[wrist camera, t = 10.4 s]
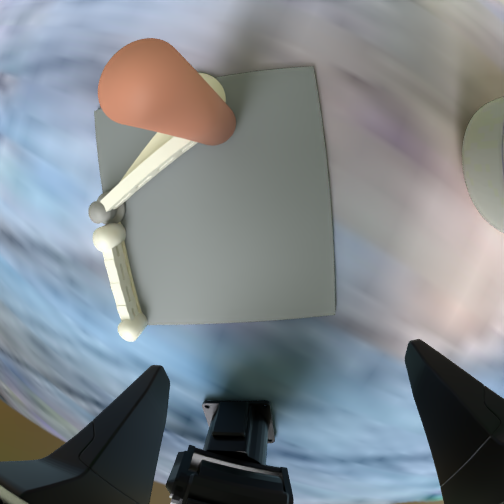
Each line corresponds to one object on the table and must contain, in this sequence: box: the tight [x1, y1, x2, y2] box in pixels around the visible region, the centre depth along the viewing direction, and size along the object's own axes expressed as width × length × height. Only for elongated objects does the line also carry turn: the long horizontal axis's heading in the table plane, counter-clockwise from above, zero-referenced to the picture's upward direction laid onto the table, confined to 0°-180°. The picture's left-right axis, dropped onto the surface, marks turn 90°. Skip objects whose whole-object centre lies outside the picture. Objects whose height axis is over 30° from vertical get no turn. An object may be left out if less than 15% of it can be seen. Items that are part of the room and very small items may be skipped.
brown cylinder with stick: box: [89, 38, 236, 224], centre depth 14 cm, size 12×3×11 cm, turn 124°
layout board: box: [94, 66, 335, 325], centre depth 20 cm, size 19×17×1 cm
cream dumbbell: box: [93, 223, 148, 342], centre depth 22 cm, size 9×2×2 cm, turn 7°
